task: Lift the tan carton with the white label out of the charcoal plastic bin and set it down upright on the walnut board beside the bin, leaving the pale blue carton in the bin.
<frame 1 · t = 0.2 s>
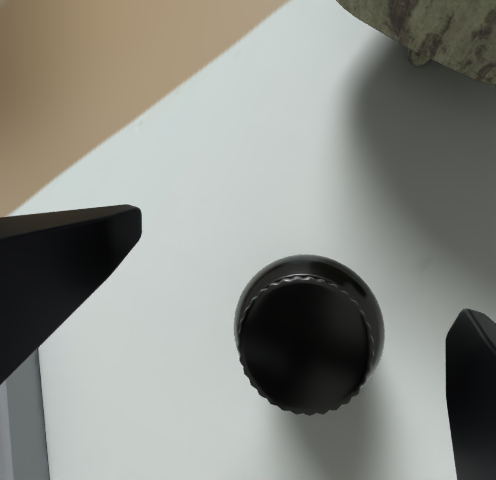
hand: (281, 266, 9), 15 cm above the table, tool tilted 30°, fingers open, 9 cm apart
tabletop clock: (433, 37, 23), on the table
supplement bottle: (310, 309, 24), on the table
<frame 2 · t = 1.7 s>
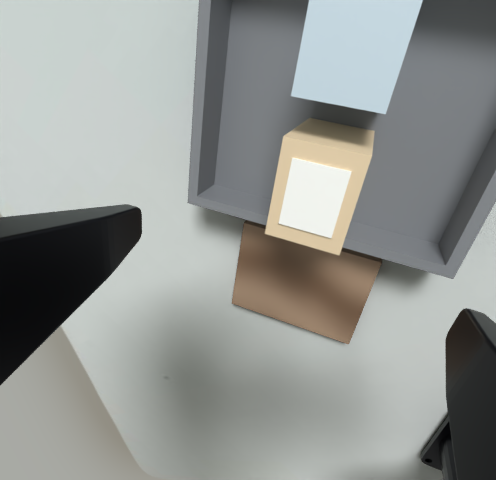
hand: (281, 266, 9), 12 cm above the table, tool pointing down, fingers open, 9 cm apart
bin: (346, 108, 18), on the table
carton tan: (330, 164, 19), resting on bin
carton blue: (362, 44, 16), resting on bin
board: (300, 279, 24), on the table
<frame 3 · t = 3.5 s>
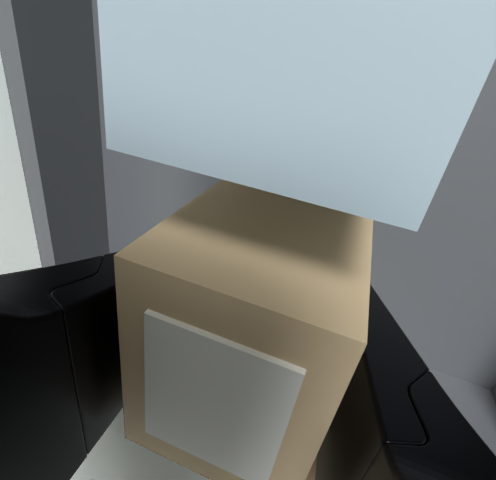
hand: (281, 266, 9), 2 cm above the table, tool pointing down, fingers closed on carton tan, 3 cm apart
bin: (319, 142, 9), on the table
carton tan: (293, 242, 10), point 1 cm above the table, touching bin, gripper
carton blue: (350, 12, 8), resting on bin
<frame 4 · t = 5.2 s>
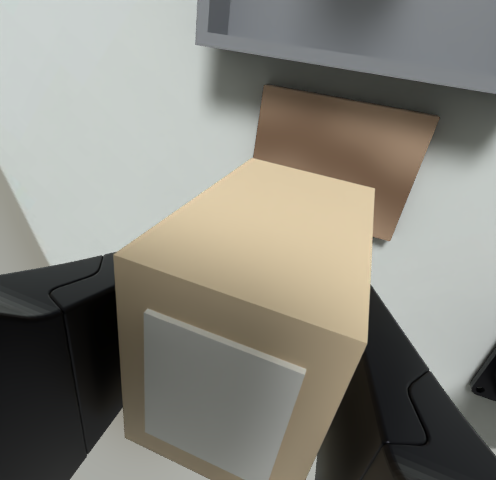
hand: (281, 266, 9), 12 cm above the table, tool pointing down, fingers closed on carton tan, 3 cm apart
carton tan: (293, 241, 10), point 11 cm above the table, touching gripper
board: (331, 162, 20), on the table
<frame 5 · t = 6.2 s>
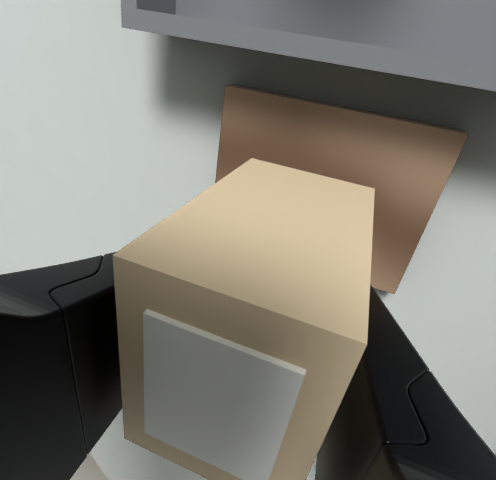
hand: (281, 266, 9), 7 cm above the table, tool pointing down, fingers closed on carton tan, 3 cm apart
carton tan: (293, 242, 10), point 5 cm above the table, touching gripper
board: (317, 189, 15), on the table
when the fingers open (3 cm above the table, at t = 7.1 s): carton tan stays where it is, resting on board.
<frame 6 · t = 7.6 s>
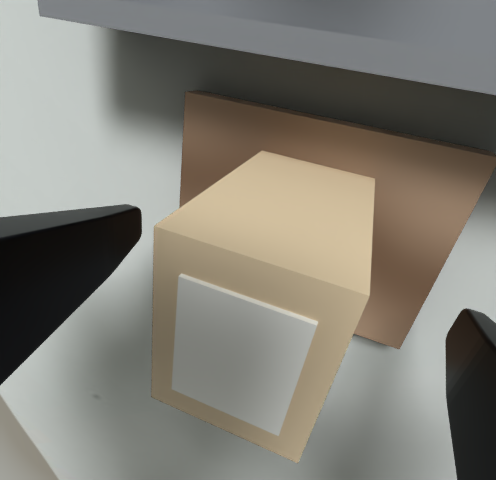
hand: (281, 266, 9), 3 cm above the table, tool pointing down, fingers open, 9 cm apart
carton tan: (299, 228, 11), point 1 cm above the table, touching board
board: (303, 219, 12), on the table
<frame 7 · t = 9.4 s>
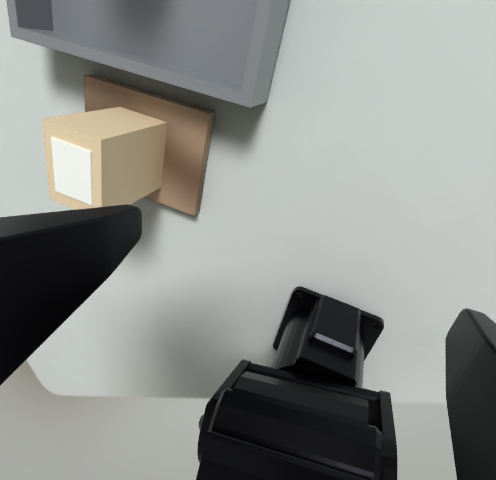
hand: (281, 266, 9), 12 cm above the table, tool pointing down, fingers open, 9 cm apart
carton tan: (141, 148, 23), point 1 cm above the table, touching board
board: (148, 146, 23), on the table
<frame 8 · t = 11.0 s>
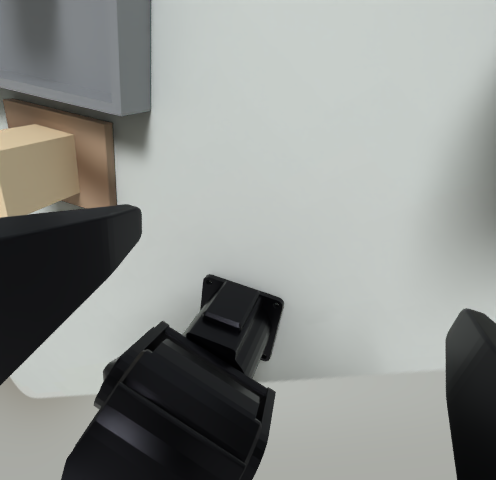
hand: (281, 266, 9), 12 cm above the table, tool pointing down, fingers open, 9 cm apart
carton tan: (58, 159, 26), point 1 cm above the table, touching board
board: (66, 157, 26), on the table
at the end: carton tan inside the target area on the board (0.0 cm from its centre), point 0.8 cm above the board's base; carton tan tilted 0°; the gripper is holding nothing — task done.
